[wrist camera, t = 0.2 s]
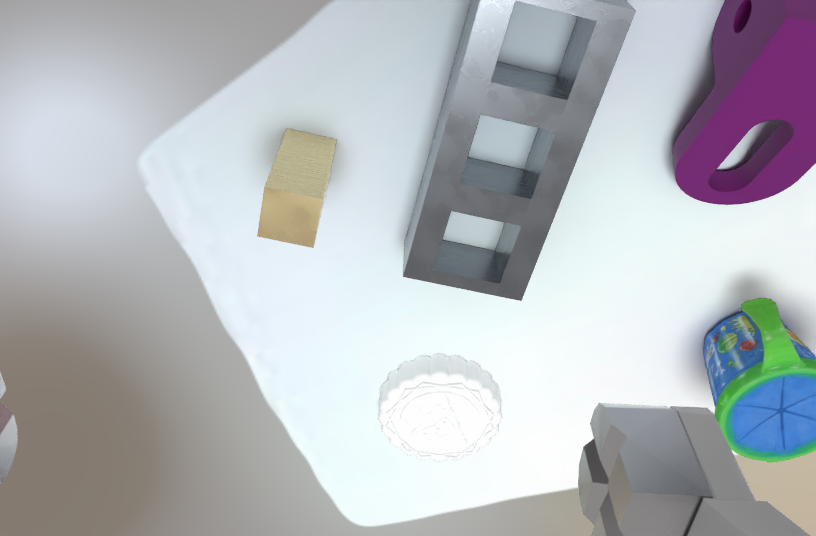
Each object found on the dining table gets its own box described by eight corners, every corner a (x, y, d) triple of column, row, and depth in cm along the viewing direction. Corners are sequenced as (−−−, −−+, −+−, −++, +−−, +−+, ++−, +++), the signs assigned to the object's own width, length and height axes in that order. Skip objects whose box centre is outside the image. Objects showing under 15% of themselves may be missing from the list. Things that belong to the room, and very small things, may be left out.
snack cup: (687, 278, 66) (726, 352, 58) (811, 263, 65) (869, 337, 57) (681, 406, 75) (713, 487, 66) (790, 395, 74) (838, 476, 65)
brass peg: (286, 128, 59) (264, 187, 51) (336, 139, 60) (322, 199, 51) (280, 173, 61) (257, 236, 53) (328, 183, 62) (313, 247, 54)
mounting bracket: (750, 133, 65) (901, -42, 50) (764, 213, 61) (933, 48, 46) (646, 113, 64) (767, -72, 49) (653, 192, 60) (788, 16, 45)
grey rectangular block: (482, -43, 52) (487, -27, 48) (619, -8, 53) (635, 10, 49) (404, 244, 65) (402, 276, 61) (515, 267, 66) (521, 300, 62)
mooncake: (361, 368, 73) (359, 394, 70) (480, 338, 71) (482, 363, 68) (403, 450, 79) (402, 477, 76) (513, 425, 77) (516, 451, 74)
